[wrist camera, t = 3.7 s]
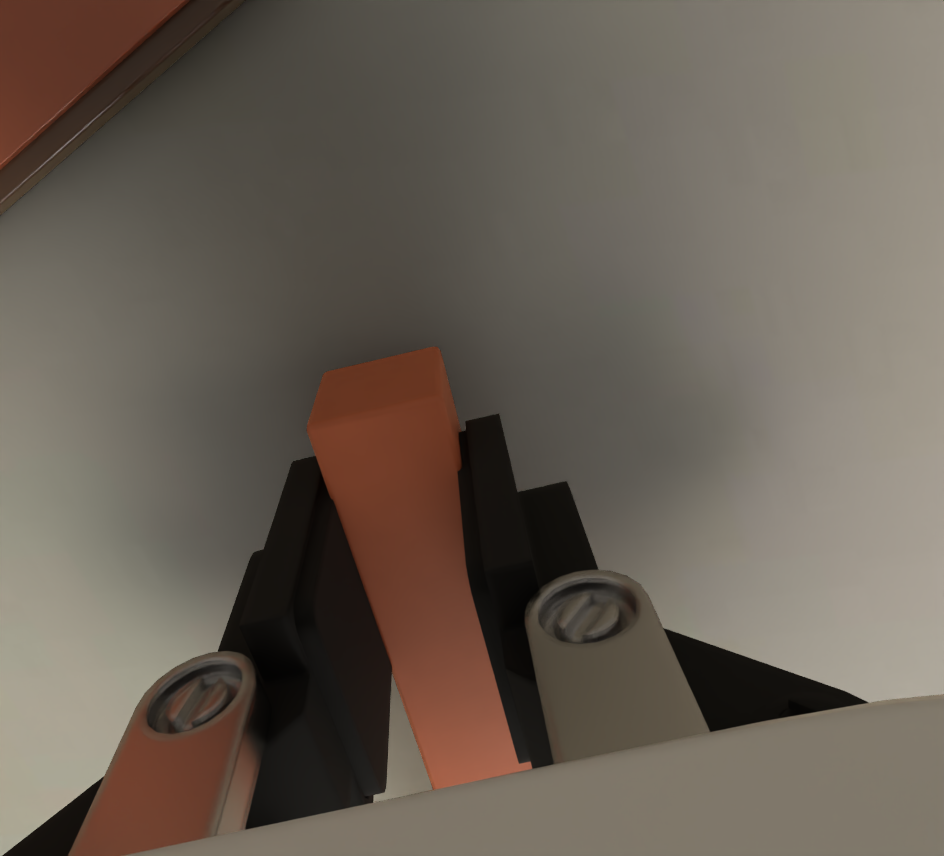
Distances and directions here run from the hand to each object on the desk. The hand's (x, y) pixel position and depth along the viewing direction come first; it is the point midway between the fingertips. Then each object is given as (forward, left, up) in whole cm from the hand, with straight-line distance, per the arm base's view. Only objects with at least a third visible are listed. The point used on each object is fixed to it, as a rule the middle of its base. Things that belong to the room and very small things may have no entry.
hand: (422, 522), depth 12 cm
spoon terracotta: (+2, +4, -1) cm, 4 cm away
